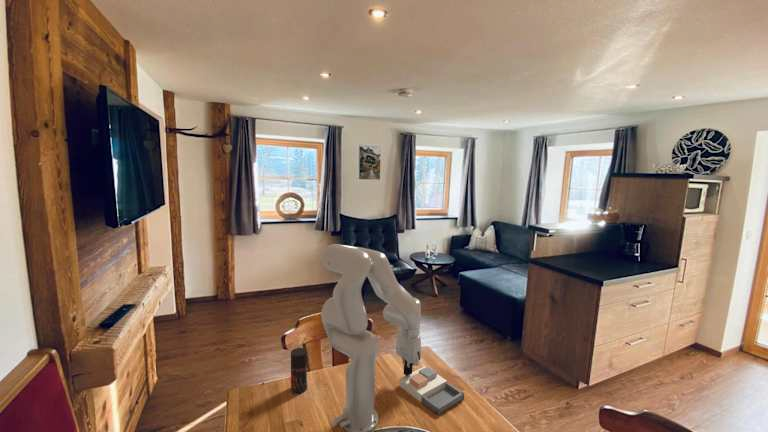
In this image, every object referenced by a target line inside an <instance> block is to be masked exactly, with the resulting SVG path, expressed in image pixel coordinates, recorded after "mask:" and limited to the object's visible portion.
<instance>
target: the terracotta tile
mask: <svg viewBox="0 0 768 432" xmlns="http://www.w3.org/2000/svg"><path fill="white" fill-rule="evenodd" d="M409 382H410V383H411V384H412V385H414V386H415V387H417V388H418V389H419V388H421V387H423V386H425V385H427V384H428V379H427V378H426V377H424V376H423V375H421V374H420V373H417V374H415V375H413V376H411V377H410V379H409Z"/></svg>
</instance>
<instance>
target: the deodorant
mask: <svg viewBox="0 0 768 432" xmlns="http://www.w3.org/2000/svg"><path fill="white" fill-rule="evenodd" d="M290 390H291V391H290V392H291V393H292V394H294V395H300V394H304V393H305V392H306V391H307V390H308V350H307V349H306V348H305V347H295V348H293V349H292V350H291V351H290Z"/></svg>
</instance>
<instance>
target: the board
mask: <svg viewBox="0 0 768 432" xmlns="http://www.w3.org/2000/svg"><path fill="white" fill-rule="evenodd" d="M425 367H426V365H425V366H423V367H421V368H418V369H417V370H415V371H412V374H410V375H408V376H406V375H404V376H401V377H400V378H399V379H398V380H399V381H398V386H399V387H400V388H402V389H403V390H404V391H406V392H407V393H408V394H409V395H411V396H412V397H413V398H415V399H416V400H417V401H419V402H420V403H422V396H425V397H427V398H429V397H430V396H432V395H434V394H436V393H437V392H439V391H441V390H443V389H444V388H446V383H447V382H448V381H447V380H446V379H445V378H443V377H442V376H440V374H437V377H436V378H434V379H432V380H430V381H428V384H427V385H425V386H423V387H421V388H419V389H418V388H417V387H415V386H414V385H412V384H411V383H410V382H409V379H410V377H411V376H413V375H415V374H417V373H419V370H421V369H423V368H425Z"/></svg>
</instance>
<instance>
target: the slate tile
mask: <svg viewBox="0 0 768 432" xmlns="http://www.w3.org/2000/svg"><path fill="white" fill-rule="evenodd" d="M419 373H420V374H421V375H423V376H424V377H426V378H427V379H428V381H430V380H432V379H434V378H436V377H437V375H438V372H437V371H435V370H434V369H432V368H431V367H429V366H425V368H423V369H421V370H419Z"/></svg>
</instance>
